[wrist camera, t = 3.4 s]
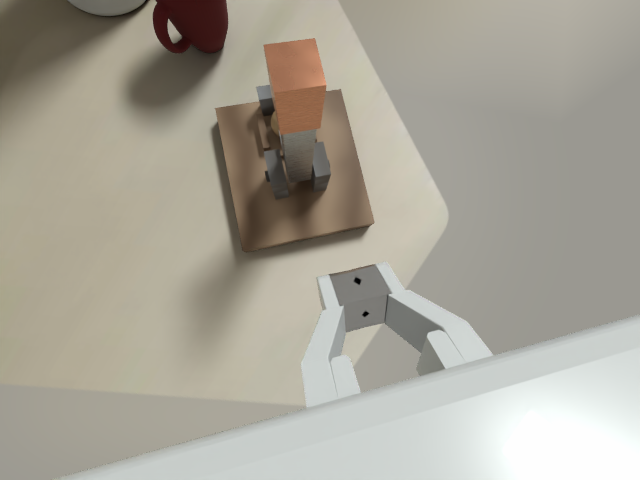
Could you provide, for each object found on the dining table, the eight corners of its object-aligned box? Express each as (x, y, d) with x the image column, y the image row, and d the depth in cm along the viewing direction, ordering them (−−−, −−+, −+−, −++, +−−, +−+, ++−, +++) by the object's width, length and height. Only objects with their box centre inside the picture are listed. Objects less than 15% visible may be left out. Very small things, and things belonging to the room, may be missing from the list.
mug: (219, 91, 33) (183, 13, 23) (160, 69, 32) (99, -20, 22) (248, 27, 34) (227, -73, 24) (193, 5, 34) (149, -104, 24)
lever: (287, 185, 27) (274, 92, 13) (279, 145, 27) (256, 15, 13) (313, 180, 27) (326, 84, 13) (304, 141, 27) (307, 9, 13)
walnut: (282, 149, 30) (279, 134, 27) (267, 126, 30) (263, 108, 27) (306, 136, 31) (307, 119, 27) (291, 113, 31) (290, 93, 27)
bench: (246, 252, 30) (230, 246, 23) (220, 118, 32) (198, 76, 25) (369, 225, 32) (389, 213, 25) (338, 99, 34) (348, 55, 27)
